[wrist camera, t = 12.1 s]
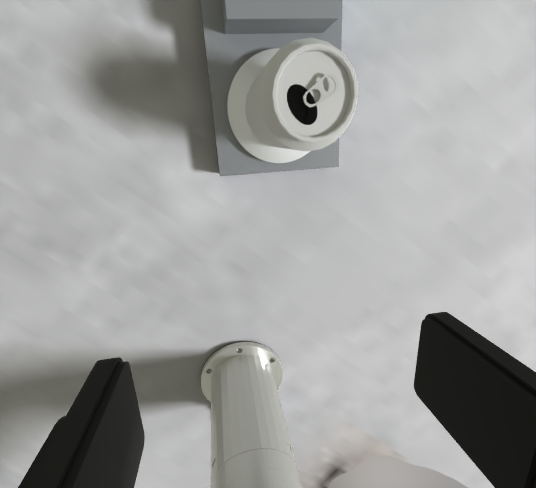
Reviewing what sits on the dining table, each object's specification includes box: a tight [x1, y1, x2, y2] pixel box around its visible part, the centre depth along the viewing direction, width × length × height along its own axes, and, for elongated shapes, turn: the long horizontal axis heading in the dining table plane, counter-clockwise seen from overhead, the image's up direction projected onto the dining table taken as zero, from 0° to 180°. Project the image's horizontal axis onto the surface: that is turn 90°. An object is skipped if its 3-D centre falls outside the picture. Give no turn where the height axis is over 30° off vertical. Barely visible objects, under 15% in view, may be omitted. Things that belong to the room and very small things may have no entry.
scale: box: [200, 0, 342, 176], centre depth 31 cm, size 18×14×7 cm
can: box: [245, 38, 358, 152], centre depth 26 cm, size 8×8×12 cm
